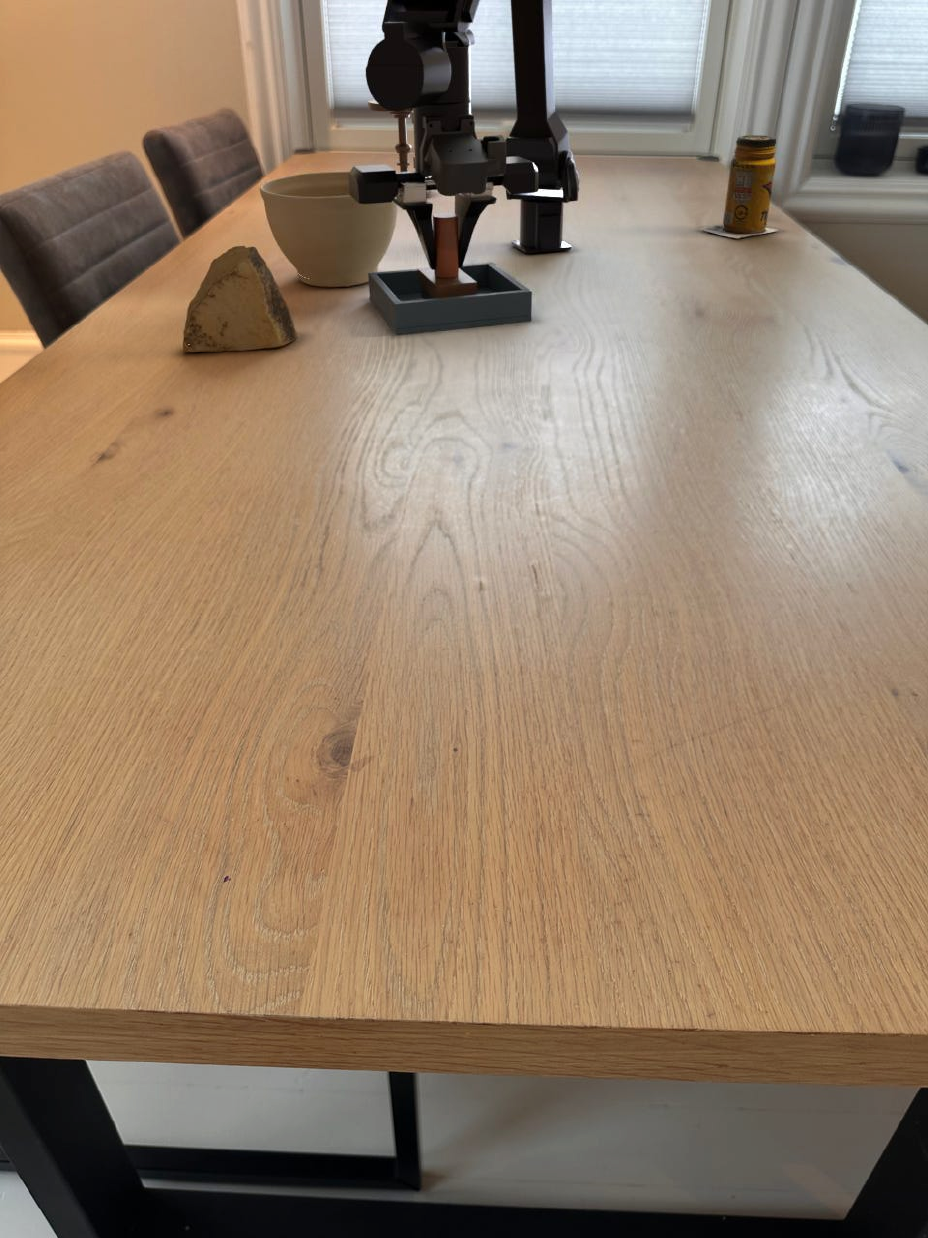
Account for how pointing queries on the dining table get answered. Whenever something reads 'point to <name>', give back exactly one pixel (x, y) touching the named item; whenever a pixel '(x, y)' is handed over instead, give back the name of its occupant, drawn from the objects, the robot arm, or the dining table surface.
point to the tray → (449, 301)
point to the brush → (445, 263)
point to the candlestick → (402, 146)
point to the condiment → (748, 188)
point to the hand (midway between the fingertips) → (445, 267)
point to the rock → (238, 307)
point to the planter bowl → (327, 228)
